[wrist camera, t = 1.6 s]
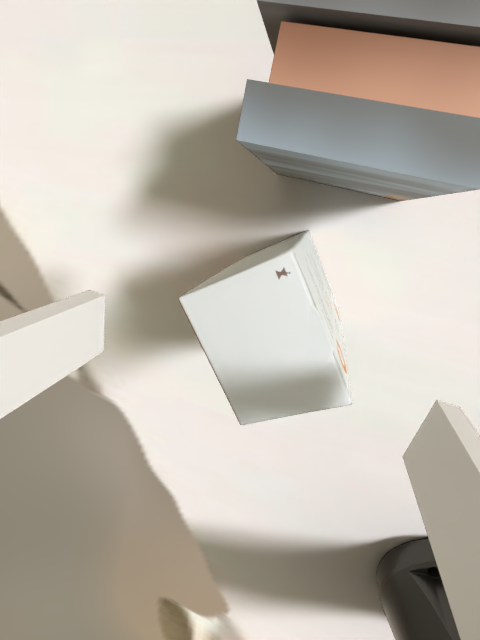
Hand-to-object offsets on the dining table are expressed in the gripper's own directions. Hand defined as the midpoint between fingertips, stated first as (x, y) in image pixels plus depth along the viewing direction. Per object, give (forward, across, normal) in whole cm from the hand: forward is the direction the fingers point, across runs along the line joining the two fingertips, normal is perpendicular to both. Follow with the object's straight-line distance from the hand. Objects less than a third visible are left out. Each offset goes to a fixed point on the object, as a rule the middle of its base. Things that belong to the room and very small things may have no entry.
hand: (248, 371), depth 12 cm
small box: (+16, 0, 0) cm, 16 cm away
